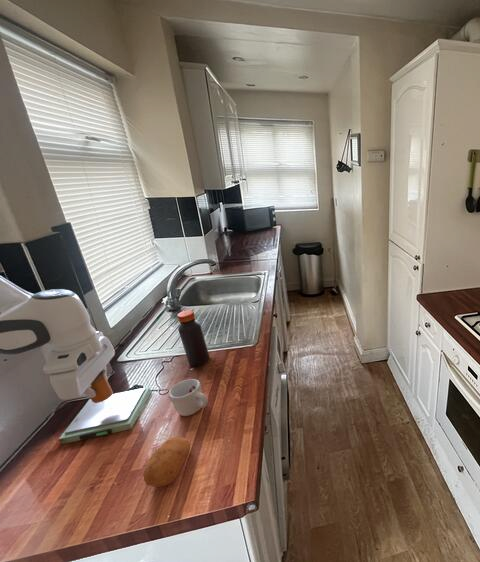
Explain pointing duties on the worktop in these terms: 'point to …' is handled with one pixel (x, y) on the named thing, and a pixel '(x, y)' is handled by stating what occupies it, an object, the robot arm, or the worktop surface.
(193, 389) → the cup
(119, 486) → the worktop surface
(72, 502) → the worktop surface
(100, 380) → the spice jar
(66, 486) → the worktop surface
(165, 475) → the potato
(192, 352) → the bottle
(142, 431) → the worktop surface
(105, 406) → the scale
